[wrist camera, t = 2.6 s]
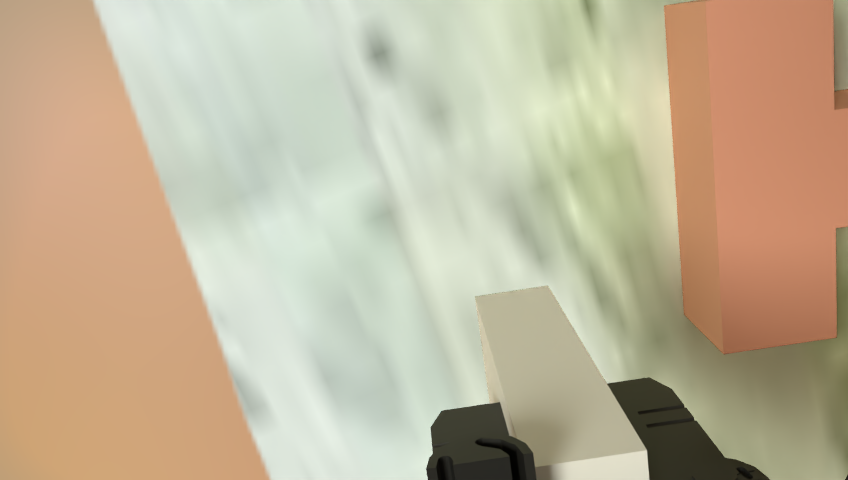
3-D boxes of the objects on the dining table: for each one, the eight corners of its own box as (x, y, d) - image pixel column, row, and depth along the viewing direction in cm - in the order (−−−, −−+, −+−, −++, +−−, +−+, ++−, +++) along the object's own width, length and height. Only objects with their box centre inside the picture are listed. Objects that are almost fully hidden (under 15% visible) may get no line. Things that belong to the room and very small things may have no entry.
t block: (664, 5, 28) (705, 1, 24) (967, -41, 28) (1057, -53, 24) (684, 314, 31) (723, 354, 28) (957, 274, 31) (1036, 308, 27)
